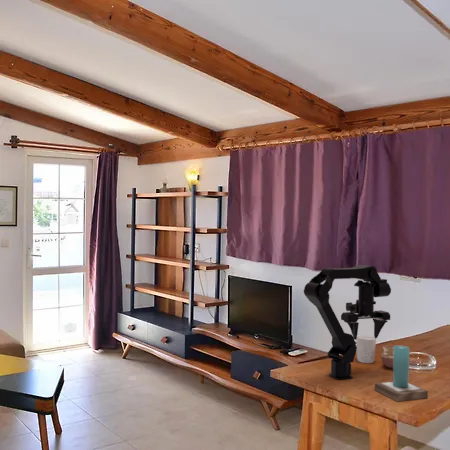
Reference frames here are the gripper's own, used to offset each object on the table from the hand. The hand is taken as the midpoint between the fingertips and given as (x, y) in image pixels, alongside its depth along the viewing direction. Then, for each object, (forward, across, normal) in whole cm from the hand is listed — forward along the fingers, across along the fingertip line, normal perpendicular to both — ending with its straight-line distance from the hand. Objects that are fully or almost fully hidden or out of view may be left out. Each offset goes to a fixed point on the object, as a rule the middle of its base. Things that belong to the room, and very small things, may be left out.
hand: (365, 338), depth 203 cm
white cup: (+13, -10, -14) cm, 22 cm away
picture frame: (+13, +3, +25) cm, 28 cm away
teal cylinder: (+10, +3, +25) cm, 27 cm away
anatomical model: (+14, -19, -8) cm, 25 cm away
